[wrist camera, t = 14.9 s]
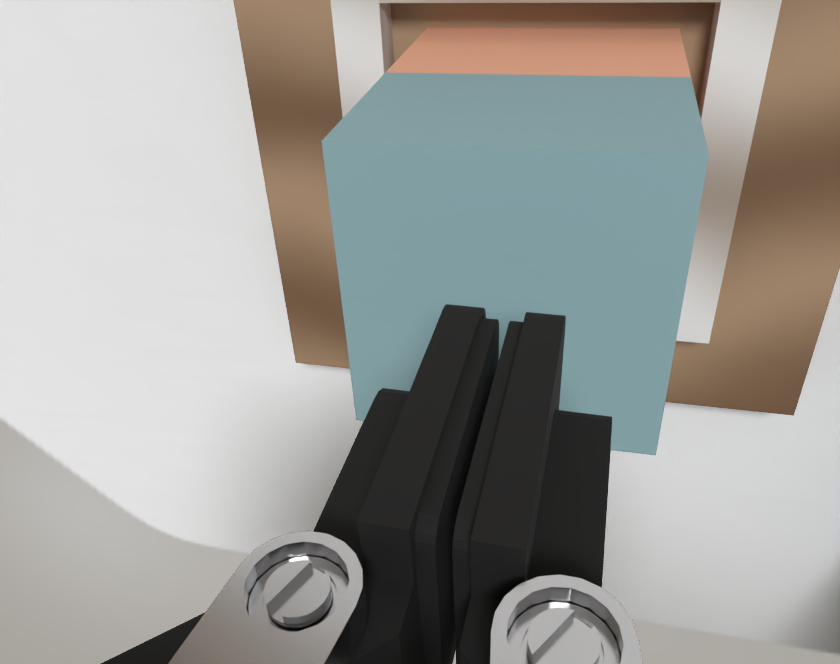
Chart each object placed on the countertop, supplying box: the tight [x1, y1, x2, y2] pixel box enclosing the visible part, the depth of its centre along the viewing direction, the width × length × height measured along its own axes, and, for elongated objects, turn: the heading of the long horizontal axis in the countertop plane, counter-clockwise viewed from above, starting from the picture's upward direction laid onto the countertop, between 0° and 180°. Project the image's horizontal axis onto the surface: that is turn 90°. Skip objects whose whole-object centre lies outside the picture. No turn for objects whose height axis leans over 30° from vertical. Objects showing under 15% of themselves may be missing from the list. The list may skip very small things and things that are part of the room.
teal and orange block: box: [322, 28, 709, 455], centre depth 16 cm, size 6×6×8 cm
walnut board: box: [234, 0, 840, 415], centre depth 20 cm, size 16×16×2 cm
